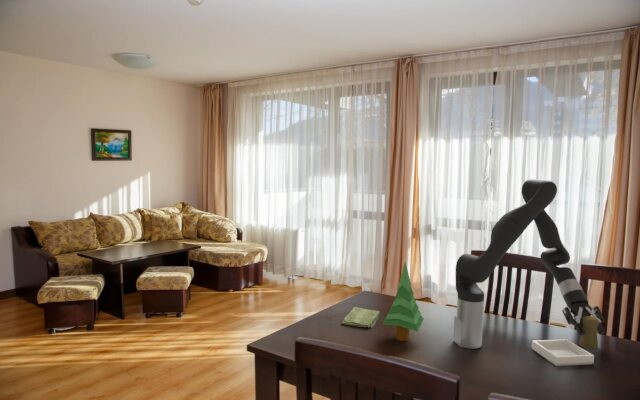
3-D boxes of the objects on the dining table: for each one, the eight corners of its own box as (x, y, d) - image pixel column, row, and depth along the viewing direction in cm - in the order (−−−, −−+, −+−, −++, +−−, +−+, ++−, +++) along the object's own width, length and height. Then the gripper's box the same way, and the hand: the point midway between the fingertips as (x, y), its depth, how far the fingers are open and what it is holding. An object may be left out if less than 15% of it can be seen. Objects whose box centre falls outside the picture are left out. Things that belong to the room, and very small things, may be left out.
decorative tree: (378, 342, 164) (380, 262, 161) (392, 328, 178) (394, 254, 175) (414, 350, 158) (417, 267, 155) (425, 335, 171) (428, 259, 169)
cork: (601, 350, 160) (603, 320, 159) (582, 348, 161) (584, 319, 160) (594, 343, 166) (596, 314, 165) (576, 341, 167) (578, 313, 166)
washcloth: (340, 326, 180) (340, 318, 180) (352, 312, 197) (353, 305, 196) (371, 331, 176) (372, 323, 175) (381, 316, 192) (382, 309, 192)
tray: (556, 366, 147) (556, 357, 147) (531, 348, 160) (532, 340, 160) (593, 364, 149) (594, 355, 148) (566, 347, 162) (566, 339, 162)
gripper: (560, 289, 168) (580, 330, 158) (595, 288, 170) (616, 329, 160) (550, 298, 174) (569, 339, 163) (584, 297, 176) (604, 337, 165)
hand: (592, 334), depth 162 cm, fingers open, 7 cm apart
